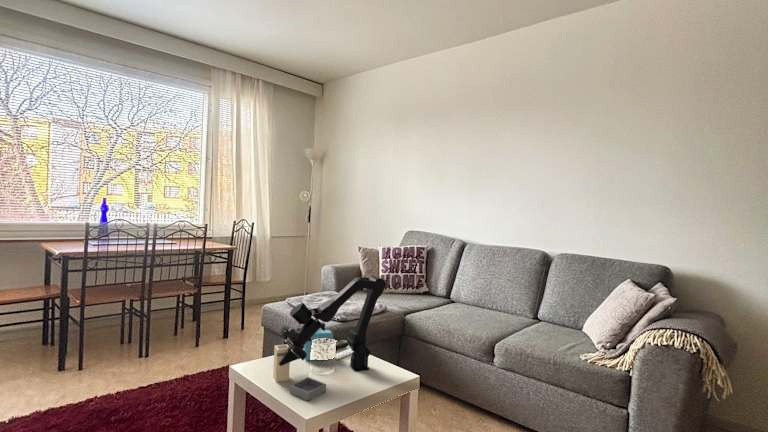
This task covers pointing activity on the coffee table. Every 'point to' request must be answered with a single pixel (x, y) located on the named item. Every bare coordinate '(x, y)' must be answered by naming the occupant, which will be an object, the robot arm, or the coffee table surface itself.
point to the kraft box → (279, 371)
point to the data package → (317, 335)
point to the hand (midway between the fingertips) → (278, 362)
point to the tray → (307, 389)
